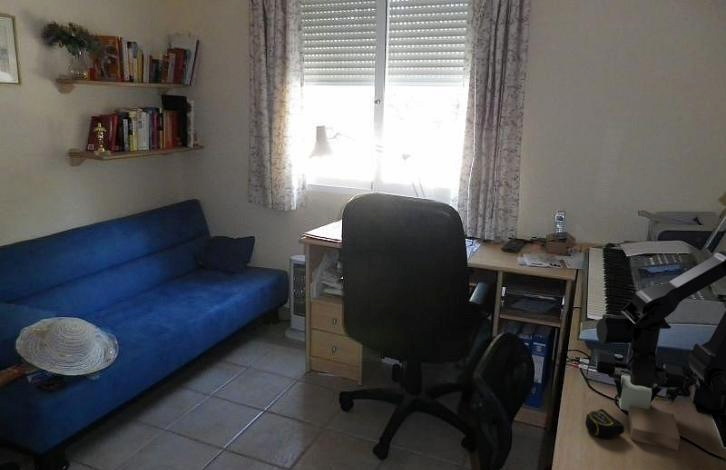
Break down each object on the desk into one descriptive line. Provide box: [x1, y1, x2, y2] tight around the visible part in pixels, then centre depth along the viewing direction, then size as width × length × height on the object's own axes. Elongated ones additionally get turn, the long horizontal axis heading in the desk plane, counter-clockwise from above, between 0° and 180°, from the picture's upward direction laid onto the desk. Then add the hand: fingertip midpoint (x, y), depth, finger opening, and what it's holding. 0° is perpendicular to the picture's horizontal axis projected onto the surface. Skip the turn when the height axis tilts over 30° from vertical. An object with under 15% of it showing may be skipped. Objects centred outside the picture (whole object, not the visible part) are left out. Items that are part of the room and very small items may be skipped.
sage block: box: [618, 374, 652, 412], centre depth 126 cm, size 6×6×6 cm
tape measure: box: [585, 408, 625, 440], centre depth 117 cm, size 7×7×4 cm
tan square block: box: [627, 405, 681, 451], centre depth 117 cm, size 9×9×3 cm
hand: (633, 400), depth 127 cm, fingers closed on sage block, 6 cm apart
